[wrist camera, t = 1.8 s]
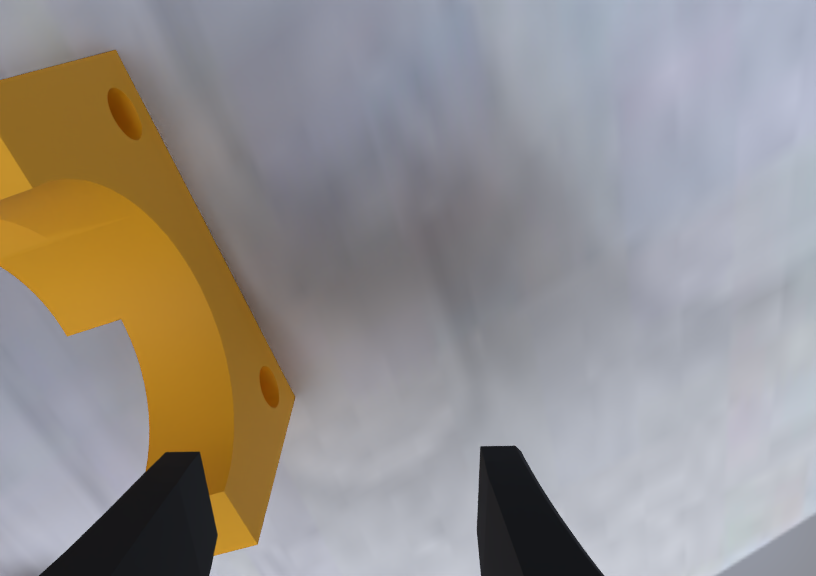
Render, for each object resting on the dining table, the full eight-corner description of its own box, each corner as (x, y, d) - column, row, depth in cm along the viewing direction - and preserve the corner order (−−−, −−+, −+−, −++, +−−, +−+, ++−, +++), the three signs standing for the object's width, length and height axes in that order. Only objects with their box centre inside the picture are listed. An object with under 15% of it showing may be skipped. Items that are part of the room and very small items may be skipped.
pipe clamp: (-20, 103, 17) (-228, 166, 12) (118, 49, 17) (-31, 87, 11) (184, 427, 23) (109, 582, 17) (295, 394, 22) (257, 544, 16)
